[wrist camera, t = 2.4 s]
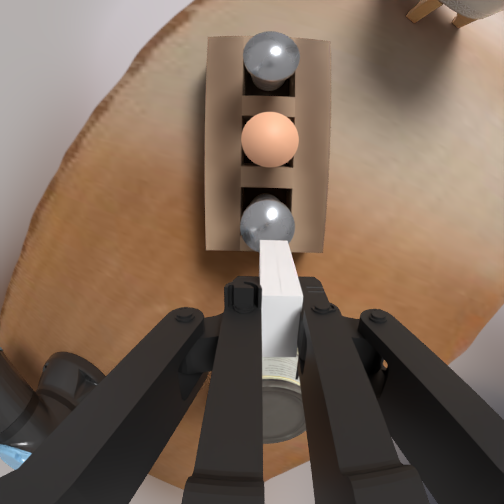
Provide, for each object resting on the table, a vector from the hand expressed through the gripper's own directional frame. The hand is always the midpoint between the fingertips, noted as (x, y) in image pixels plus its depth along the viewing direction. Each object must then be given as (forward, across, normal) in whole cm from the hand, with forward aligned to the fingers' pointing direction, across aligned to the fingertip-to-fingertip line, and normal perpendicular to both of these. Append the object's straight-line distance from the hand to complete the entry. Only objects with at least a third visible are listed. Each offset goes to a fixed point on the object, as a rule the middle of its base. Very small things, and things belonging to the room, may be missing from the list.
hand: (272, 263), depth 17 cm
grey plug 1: (+15, 0, +14) cm, 21 cm away
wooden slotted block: (+20, 0, +7) cm, 21 cm away
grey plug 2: (+15, 0, 0) cm, 15 cm away
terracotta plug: (+15, 0, +7) cm, 17 cm away
